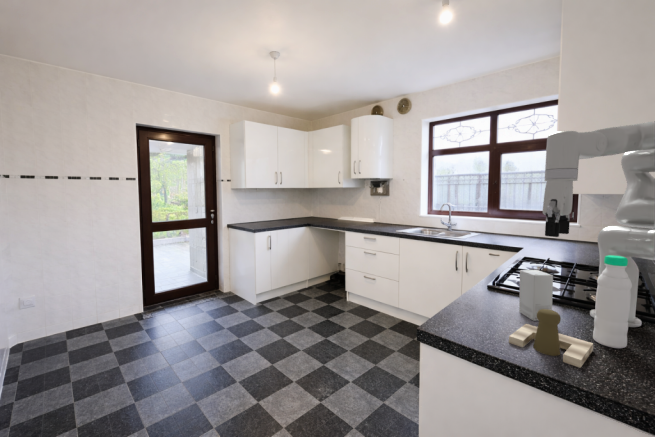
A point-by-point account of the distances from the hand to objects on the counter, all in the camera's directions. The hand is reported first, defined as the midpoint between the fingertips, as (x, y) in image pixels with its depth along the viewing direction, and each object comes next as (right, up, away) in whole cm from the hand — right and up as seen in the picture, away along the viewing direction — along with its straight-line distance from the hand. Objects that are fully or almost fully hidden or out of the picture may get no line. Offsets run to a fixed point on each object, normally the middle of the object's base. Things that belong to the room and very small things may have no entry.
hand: (557, 234), depth 88 cm
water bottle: (+13, -31, -2) cm, 34 cm away
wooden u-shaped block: (-5, -31, -4) cm, 32 cm away
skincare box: (+4, -29, +16) cm, 34 cm away
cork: (-8, -31, -6) cm, 33 cm away
